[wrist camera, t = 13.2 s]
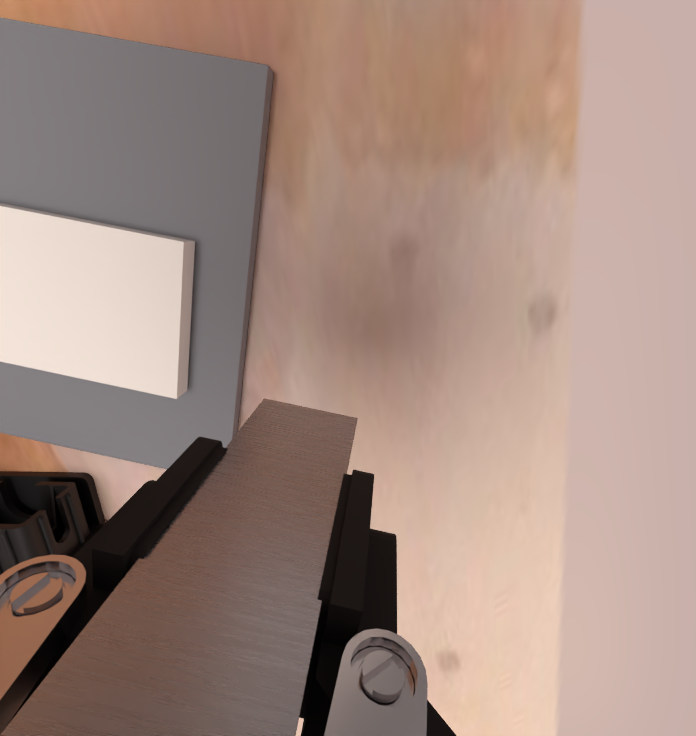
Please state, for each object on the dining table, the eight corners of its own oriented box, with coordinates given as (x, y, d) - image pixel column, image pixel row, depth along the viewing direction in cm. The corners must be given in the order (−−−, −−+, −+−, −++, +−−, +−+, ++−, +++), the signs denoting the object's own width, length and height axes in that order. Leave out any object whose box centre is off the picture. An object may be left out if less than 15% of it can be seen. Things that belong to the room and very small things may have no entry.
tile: (-36, 198, 22) (-16, 358, 25) (183, 241, 21) (176, 398, 24) (-8, 200, 23) (7, 350, 26) (197, 240, 23) (189, 389, 26)
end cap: (5, 546, 34) (-86, 621, 27) (-25, 470, 31) (-131, 532, 25) (120, 551, 32) (53, 630, 26) (98, 472, 30) (19, 537, 24)
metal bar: (264, 398, 13) (-583, 1477, 2) (357, 418, 13) (102, 1724, 2) (254, 479, 14) (-334, 1512, 3) (340, 498, 14) (108, 1669, 3)
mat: (-63, 12, 22) (-84, 2, 21) (273, 72, 21) (268, 65, 20) (-12, 420, 30) (-25, 427, 29) (233, 474, 29) (227, 482, 28)
